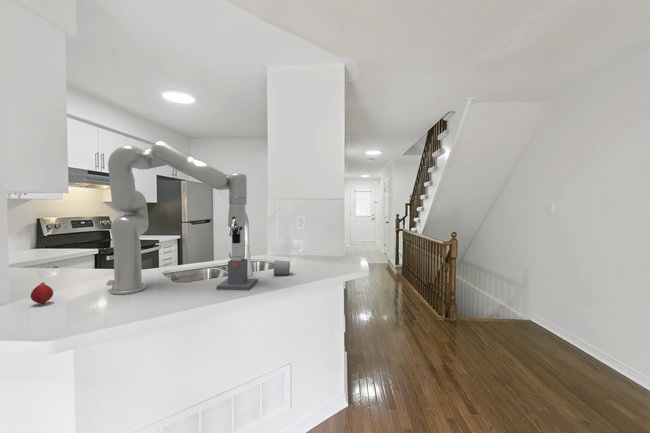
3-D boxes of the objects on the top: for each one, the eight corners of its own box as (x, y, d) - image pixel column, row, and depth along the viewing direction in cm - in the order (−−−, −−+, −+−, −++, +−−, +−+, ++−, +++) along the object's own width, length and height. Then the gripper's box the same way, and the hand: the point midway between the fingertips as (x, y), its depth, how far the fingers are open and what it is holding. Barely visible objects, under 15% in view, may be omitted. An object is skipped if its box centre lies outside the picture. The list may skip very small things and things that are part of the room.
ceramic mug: (290, 276, 152) (290, 261, 152) (273, 276, 150) (273, 261, 150) (288, 271, 162) (288, 257, 162) (272, 272, 160) (273, 258, 160)
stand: (216, 289, 127) (216, 262, 126) (228, 281, 141) (228, 257, 140) (248, 290, 126) (248, 263, 125) (257, 281, 140) (257, 257, 139)
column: (231, 270, 131) (231, 230, 130) (235, 268, 135) (234, 229, 134) (240, 270, 131) (240, 230, 130) (244, 268, 135) (244, 229, 134)
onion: (34, 308, 103) (33, 285, 102) (28, 305, 106) (28, 282, 105) (55, 303, 107) (55, 281, 107) (50, 300, 111) (49, 279, 110)
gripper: (236, 201, 140) (236, 240, 141) (222, 201, 124) (222, 244, 124) (251, 201, 140) (251, 240, 141) (239, 201, 123) (239, 245, 124)
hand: (237, 242), depth 132 cm, fingers closed on column, 4 cm apart
